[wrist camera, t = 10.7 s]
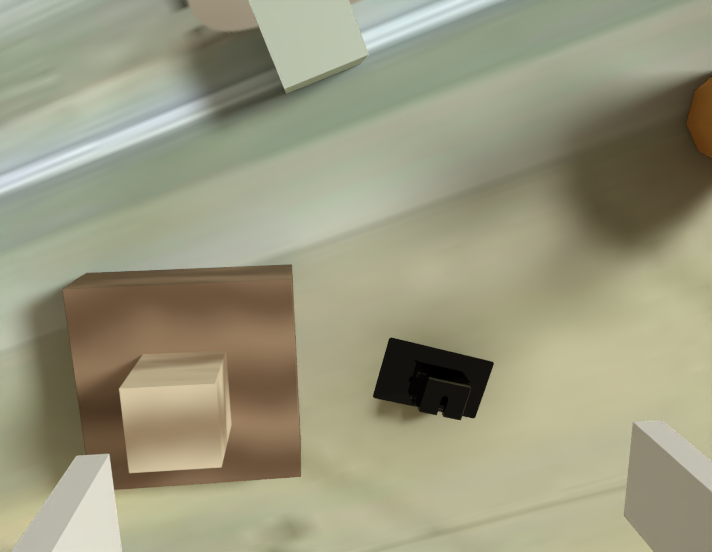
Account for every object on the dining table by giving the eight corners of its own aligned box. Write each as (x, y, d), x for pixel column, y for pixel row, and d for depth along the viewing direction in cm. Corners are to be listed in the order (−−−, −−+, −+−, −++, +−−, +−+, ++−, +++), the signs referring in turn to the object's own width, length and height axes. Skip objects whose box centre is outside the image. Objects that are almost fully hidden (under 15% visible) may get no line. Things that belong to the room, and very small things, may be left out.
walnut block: (86, 273, 48) (62, 289, 43) (291, 264, 49) (290, 279, 44) (110, 457, 51) (91, 491, 47) (300, 444, 53) (300, 476, 48)
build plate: (353, 399, 53) (358, 423, 48) (376, 321, 51) (383, 339, 47) (486, 427, 55) (503, 454, 50) (512, 353, 53) (531, 373, 49)
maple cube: (142, 354, 44) (119, 388, 39) (226, 350, 45) (214, 383, 39) (150, 429, 46) (129, 473, 40) (231, 424, 46) (221, 467, 41)
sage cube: (253, 14, 44) (246, -3, 39) (330, -18, 44) (334, -39, 39) (286, 94, 46) (284, 89, 40) (360, 64, 46) (368, 54, 40)
